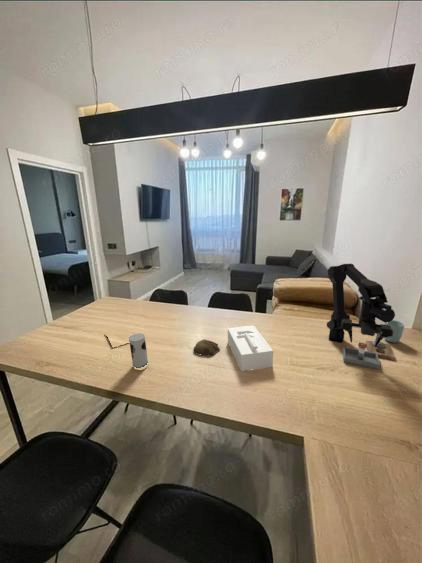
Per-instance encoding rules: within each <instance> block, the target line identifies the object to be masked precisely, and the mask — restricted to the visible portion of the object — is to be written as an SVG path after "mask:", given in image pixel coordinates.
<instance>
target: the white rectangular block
mask: <svg viewBox="0 0 422 563" xmlns="http://www.w3.org/2000/svg"><path fill="white" fill-rule="evenodd" d="M227 344H228V345H229V348H230V349H231V352H232V354H233V356H234V358H236V359H235V360H237V361H236V363H237V362H238V363H237V365H238V364H239V365H238V366H240V367H239V369H240V371H241V372H244V371H243V370H248V371H252V370H251V369H255V370H259V368H262V369H268V368H267V367H269V368H273V366H274V365H273V362H274V350H273V348H272V347H271V346H270V345H269V343H268V342H267V341H266V339H265V338H264V336H263V335H262V334H261V332H259V330H258V329H257V327H256V326H255V325H252V324H251V325H243V326H236V327H227Z"/></svg>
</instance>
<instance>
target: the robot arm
mask: <svg viewBox="0 0 422 563" xmlns="http://www.w3.org/2000/svg"><path fill="white" fill-rule="evenodd" d="M327 275H328V276H327V277H328V279H329V281H330V282H331V284H332V299H333V312H332V314H331V315H330V320H329V321H328V322H326V327H327V328H328V329H329V334H328V340H329V341H332V342H338V343H343V341H344V340H345V332H347V334H348V335H349V336H348V337H349V341H350V343H353V328H357V329H360V334H361V335H363V336H371V337H375V340H374V341H375V347H376V346H377V345H378V344H379V342H381V341H382V340H383V339H385V337H388V336H390V337H392V336H393V330H392V328H391V326H390V325H385V322H386V323H388V322H390V321H392V320H394V319H395V316H396V314H395V311H394V309H392V308H393V306H392V305H389V304H387V303H388V302H389V301H388V298H387V295H386V294H385V289H384V287H383V286H382V285H381V284H380V283H378V282H377V281H374V280H371V279H369V278H368V277H366V276H365V274H364V273H362V271H360V270H358V269H357V268H356V266H355V265H354V264H353V263H342V264H340V265H333V266H332V265H331V266H330V267H329V268H328V269H327ZM347 277H348V278H349V279H350V280H351V281H352V282H353V283H354V284H355V285H356V286H357V287H358V292H359V294H360V295H361V296H360V297H358V300H361V306H360V312H359V320H358V323H356V322H353V320H352V319H351V316H350V315H349V314H348V313H347V312H346V307H345V291H344V283H345V280H346V279H347ZM376 319H377V320H379V321H381V322H383V323H384V324H383V323H380V324H378V323H376ZM375 334H376V335H375Z"/></svg>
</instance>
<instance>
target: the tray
mask: <svg viewBox="0 0 422 563" xmlns="http://www.w3.org/2000/svg"><path fill="white" fill-rule="evenodd" d="M342 348H343V349H342V359H343V360H342V361H343V363H346V364H348V365H349V364H350V365H355V366H358V367H364V368H370V369H373V370H378V371H380V369H381V368H380V367H381V363H380V360H379V357H378V355H377V353H373V352H368V350H365V353H364V358H363V360H358V359H357V356H358V351H359V349H357V348H351V347H347V346H343V347H342Z"/></svg>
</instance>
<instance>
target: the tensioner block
mask: <svg viewBox="0 0 422 563" xmlns="http://www.w3.org/2000/svg"><path fill="white" fill-rule="evenodd" d="M365 344H366V345H367V348H366V351H368V352H373V353H377V355H378V358H381V359H387V360H392V361H395V357H396V356H395V354H394V352H393V349H392V347H391V344H389V343H384V342H381V341H380V342H379V344H378V345H377V346H376V347H375V340H374V341H372V340H365Z"/></svg>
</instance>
